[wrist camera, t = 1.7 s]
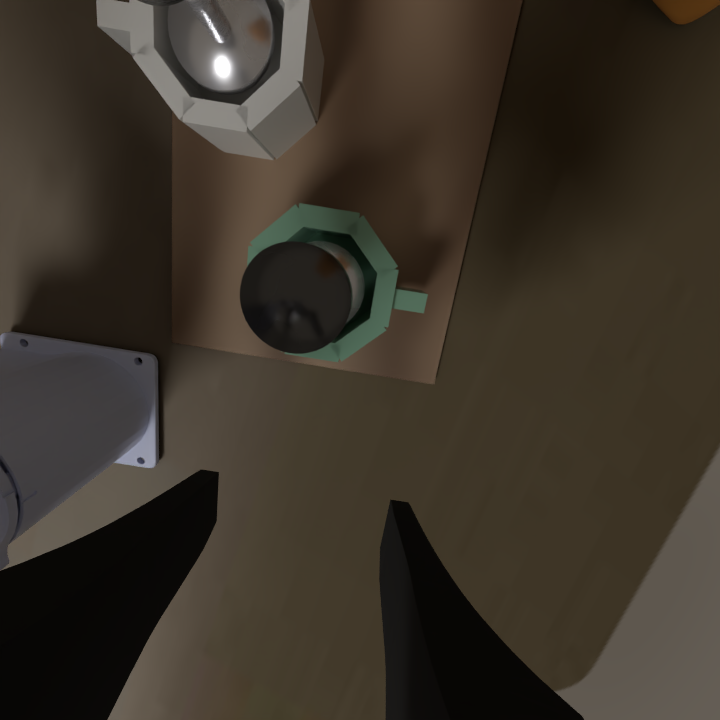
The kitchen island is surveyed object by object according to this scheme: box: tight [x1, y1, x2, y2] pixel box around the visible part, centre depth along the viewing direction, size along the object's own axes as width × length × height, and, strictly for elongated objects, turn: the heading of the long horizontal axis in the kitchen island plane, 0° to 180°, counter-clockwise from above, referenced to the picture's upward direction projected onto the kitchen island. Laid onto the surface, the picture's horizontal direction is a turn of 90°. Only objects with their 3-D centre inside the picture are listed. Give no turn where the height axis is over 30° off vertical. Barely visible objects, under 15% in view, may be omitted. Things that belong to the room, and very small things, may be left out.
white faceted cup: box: [96, 0, 324, 160], centre depth 15 cm, size 8×7×4 cm
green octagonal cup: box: [247, 203, 428, 362], centre depth 17 cm, size 8×7×4 cm
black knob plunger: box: [240, 241, 365, 354], centre depth 13 cm, size 4×4×6 cm
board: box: [172, 0, 523, 384], centre depth 18 cm, size 16×19×1 cm
